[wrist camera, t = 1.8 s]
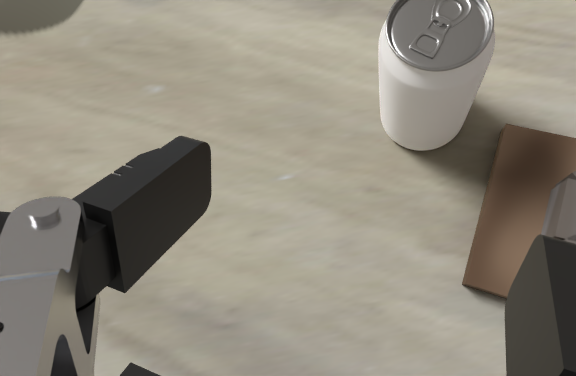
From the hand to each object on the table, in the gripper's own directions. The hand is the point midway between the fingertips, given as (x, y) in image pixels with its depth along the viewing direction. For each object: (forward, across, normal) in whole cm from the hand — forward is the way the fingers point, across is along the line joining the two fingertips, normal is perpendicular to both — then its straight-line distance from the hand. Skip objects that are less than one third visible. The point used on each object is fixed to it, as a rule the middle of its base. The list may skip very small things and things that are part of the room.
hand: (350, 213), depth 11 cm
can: (+26, 0, +7) cm, 27 cm away
